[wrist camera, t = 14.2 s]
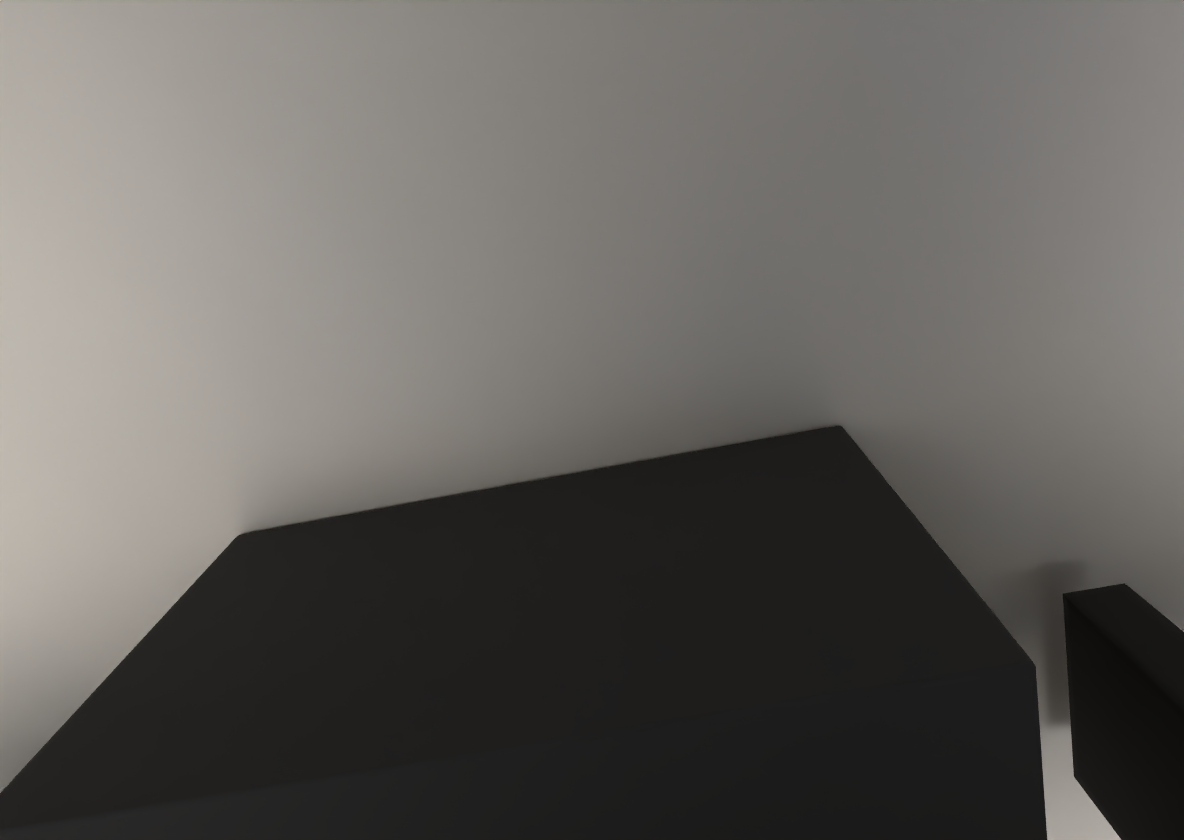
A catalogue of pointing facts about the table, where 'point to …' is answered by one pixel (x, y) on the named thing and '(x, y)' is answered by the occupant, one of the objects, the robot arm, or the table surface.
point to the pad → (569, 674)
